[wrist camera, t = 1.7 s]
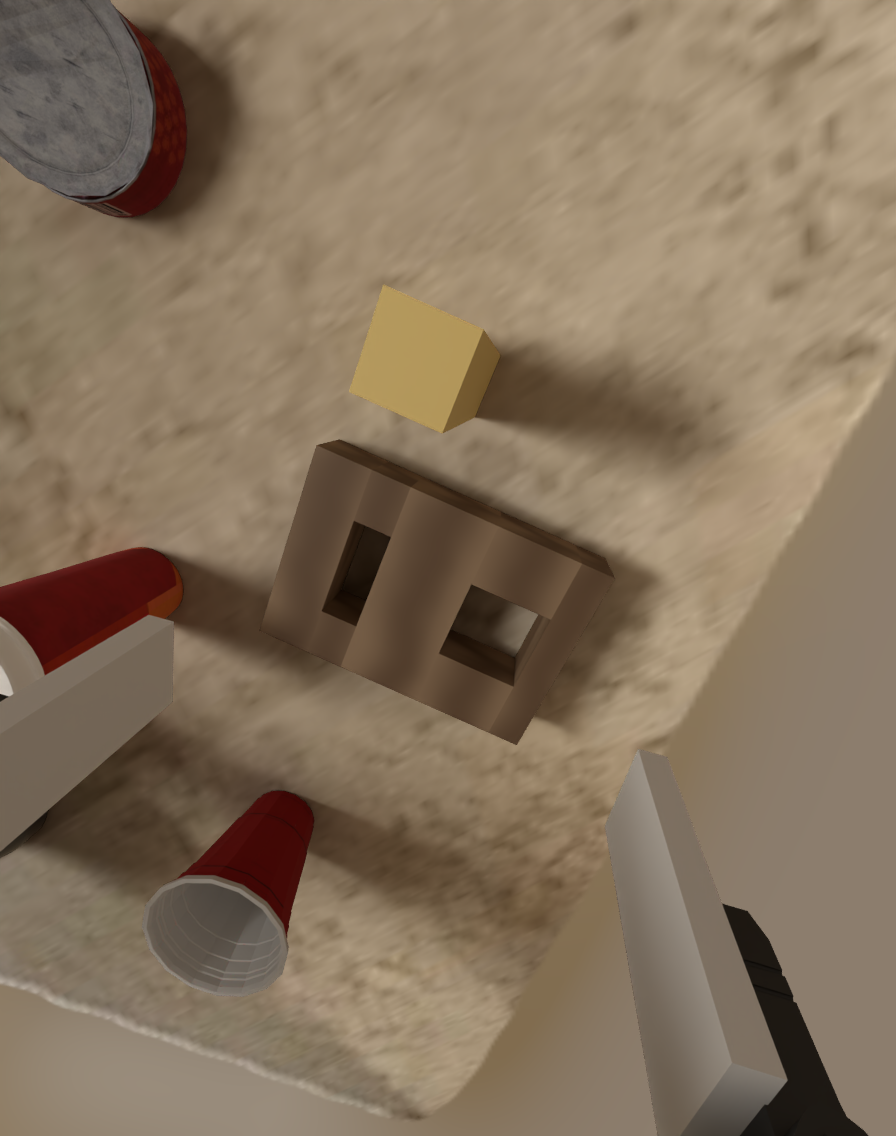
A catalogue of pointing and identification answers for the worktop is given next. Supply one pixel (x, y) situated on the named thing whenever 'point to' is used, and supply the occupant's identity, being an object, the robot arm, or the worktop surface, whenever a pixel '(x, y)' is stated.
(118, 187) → the canned food
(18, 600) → the coffee cup
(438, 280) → the worktop surface
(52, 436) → the worktop surface
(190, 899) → the plastic cup
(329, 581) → the socket block
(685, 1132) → the robot arm
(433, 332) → the square peg
